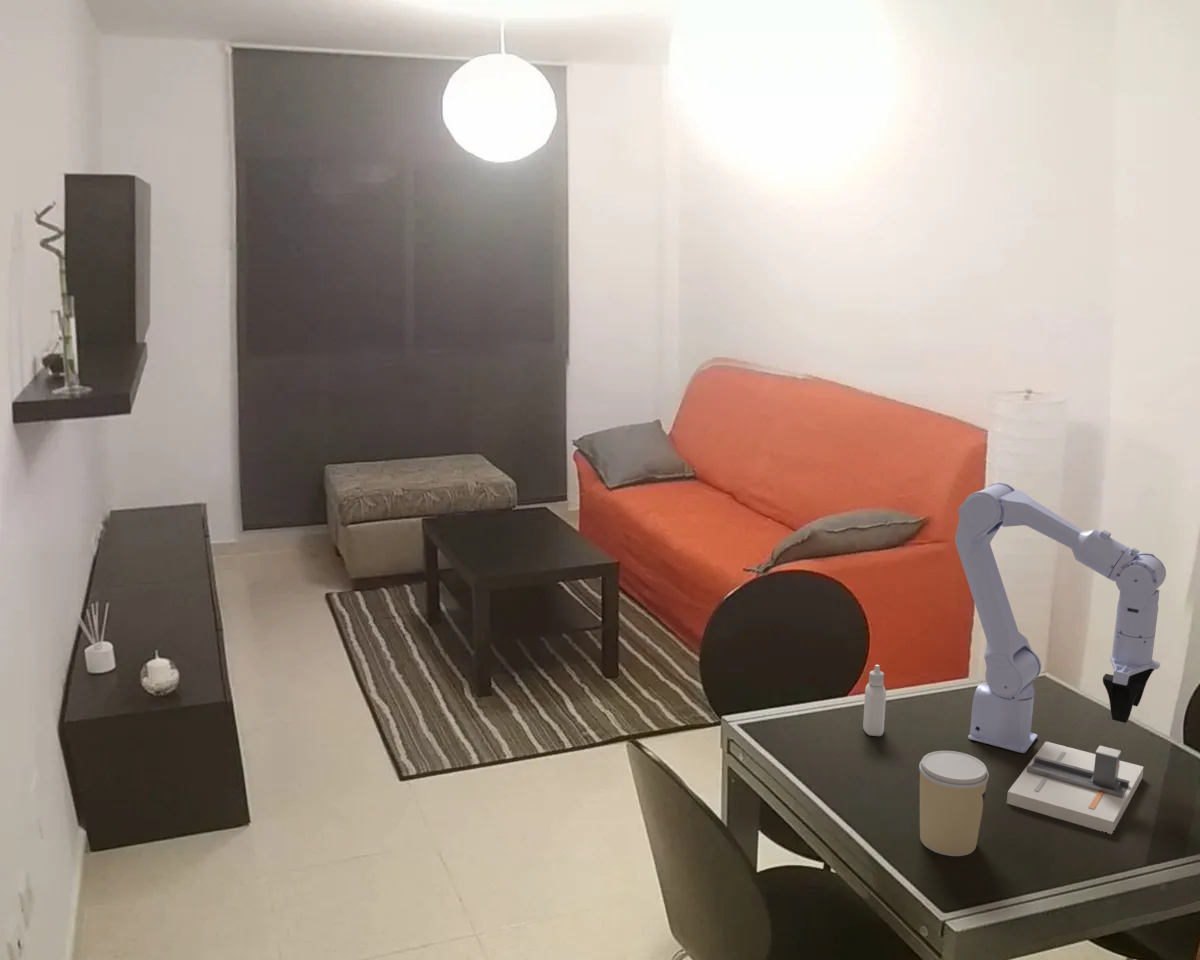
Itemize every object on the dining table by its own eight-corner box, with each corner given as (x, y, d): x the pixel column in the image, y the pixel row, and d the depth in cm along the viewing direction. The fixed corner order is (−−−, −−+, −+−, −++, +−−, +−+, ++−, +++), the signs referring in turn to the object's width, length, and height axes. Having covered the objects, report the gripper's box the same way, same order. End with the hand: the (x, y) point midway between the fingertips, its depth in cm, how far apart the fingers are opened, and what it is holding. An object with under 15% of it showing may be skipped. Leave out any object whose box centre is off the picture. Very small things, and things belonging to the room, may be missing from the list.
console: (1006, 803, 171) (1008, 786, 171) (1044, 752, 188) (1046, 736, 187) (1112, 834, 163) (1114, 816, 162) (1142, 778, 179) (1144, 762, 178)
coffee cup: (996, 853, 157) (1003, 775, 155) (937, 864, 155) (943, 784, 152) (957, 820, 166) (963, 745, 164) (901, 829, 164) (906, 754, 161)
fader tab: (1088, 784, 173) (1092, 750, 171) (1092, 778, 174) (1096, 744, 173) (1116, 792, 170) (1120, 757, 169) (1120, 786, 172) (1124, 751, 171)
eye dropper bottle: (891, 727, 197) (895, 663, 194) (879, 739, 192) (883, 673, 190) (867, 721, 199) (871, 657, 197) (855, 732, 195) (858, 667, 192)
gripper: (1152, 651, 168) (1142, 735, 171) (1172, 624, 179) (1162, 703, 182) (1102, 640, 172) (1093, 722, 175) (1124, 615, 183) (1115, 692, 186)
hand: (1125, 712), depth 179 cm, fingers open, 7 cm apart
